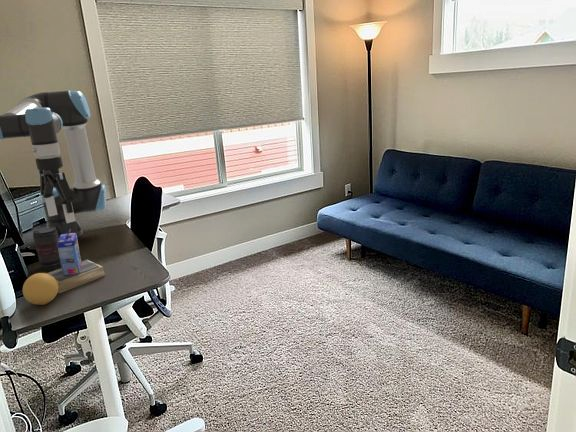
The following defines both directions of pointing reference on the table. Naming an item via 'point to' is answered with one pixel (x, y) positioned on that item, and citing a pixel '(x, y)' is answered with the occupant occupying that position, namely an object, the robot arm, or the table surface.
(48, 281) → the stress ball
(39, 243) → the dark lidded jar
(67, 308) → the table surface
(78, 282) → the plinth
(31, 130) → the robot arm
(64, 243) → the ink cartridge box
